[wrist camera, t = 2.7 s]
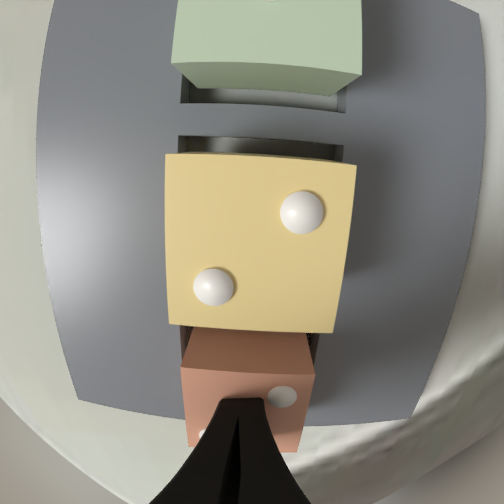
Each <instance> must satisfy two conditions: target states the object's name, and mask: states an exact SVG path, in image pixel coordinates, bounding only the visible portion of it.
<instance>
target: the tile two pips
mask: <svg viewBox="0 0 504 504" xmlns="http://www.w3.org/2000/svg"><path fill="white" fill-rule="evenodd" d="M356 168H357V165H352V164H347V163H342V162H337V161H332V160H326V159H316V158H306V157H294V156H281V155H267V154H250V153H228V152H182V153H169V154H165V256H166V281H167V300H168V316H169V324H175V325H185V326H197V327H209V328H222V329H237V330H254V331H274V332H302V333H333V328H334V323H335V318H336V313H337V307H338V302H339V296H340V291H341V285H342V279H343V272H344V266H345V260H346V253H347V246H348V239H349V231H350V224H351V216H352V207H353V198H354V189H355V179H356Z"/></svg>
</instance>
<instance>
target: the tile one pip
mask: <svg viewBox="0 0 504 504" xmlns="http://www.w3.org/2000/svg"><path fill="white" fill-rule="evenodd" d="M171 64H172V65H174V66H175V67H176V68H177V69H178V70H179V71H180V72H181V73H182V74H183V75H184V76H185V77H186V78H187V79H189V80H190V81H191V82H192V83H193V84H194V85H195V86H196V87H197V88H231V89H257V90H273V91H286V92H297V93H307V94H315V95H324V96H331V95H333V94H334V93H336V92H337V91H339V90H340V89H342V88H343V87H345V86H346V85H348V84H349V83H351V82H352V81H354V80H355V79H357V78H358V77H360V76H361V75H362V10H361V0H178V5H177V13H176V20H175V29H174V37H173V47H172V57H171Z"/></svg>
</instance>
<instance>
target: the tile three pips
mask: <svg viewBox="0 0 504 504" xmlns="http://www.w3.org/2000/svg"><path fill="white" fill-rule="evenodd" d="M180 370H181V381H182V392H183V402H184V411H185V420H186V428H187V436H188V444H189V447H196V445H197V443H198V442H199V440H200V438H201V437H202V435H203V433H204V432H205V430H206V428H207V426H208V424H209V422H210V420H211V418H212V416H213V414H214V412H215V410H216V408H217V405H218V403H219V401H220V400H221V399H233V398H258V397H261V398H262V399H264V405H265V412H266V416H267V420H268V423H269V426H270V430H271V432H272V435H273V437H274V440H275V442H276V444H277V447H278V449H279V451H280V452H297V449H298V446H299V442H300V438H301V434H302V430H303V426H304V422H305V418H306V414H307V410H308V405H309V401H310V397H311V392H312V388H313V383H314V379H315V371H314V366H313V362H312V358H311V353H310V349H309V345H308V340H307V336H306V333H302V332H274V331H254V330H237V329H222V328H209V327H197V326H194V327H193V330H192V333H191V336H190V339H189V342H188V345H187V348H186V351H185V354H184V357H183V360H182V363H181V366H180Z"/></svg>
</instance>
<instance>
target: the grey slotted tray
mask: <svg viewBox="0 0 504 504" xmlns="http://www.w3.org/2000/svg"><path fill="white" fill-rule="evenodd" d="M177 5H178V0H54V4H53V8H52V13H51V17H50V22H49V27H48V32H47V37H46V43H45V49H44V55H43V62H42V69H41V77H40V86H39V97H38V110H37V131H36V178H37V199H38V213H39V224H40V233H41V242H42V250H43V257H44V264H45V270H46V276H47V282H48V287H49V293H50V298H51V303H52V307H53V312H54V317H55V321H56V325H57V329H58V333H59V337H60V341H61V345H62V348H63V352H64V356H65V359H66V362H67V366H68V369H69V372H70V375H71V379H72V382H73V385H74V388H75V391H76V394H77V396H78V399H79V400H83V401H87V402H91V403H95V404H99V405H104V406H108V407H113V408H118V409H122V410H127V411H133V412H138V413H144V414H149V415H156V416H162V417H169V418H176V419H183V420H185V411H184V402H183V392H182V381H181V370H180V366H181V363H182V360H183V357H184V354H185V351H186V348H187V345H188V342H187V326H185V325H175V324H169V316H168V300H167V281H166V256H165V154H169V153H182V152H186V140H187V137H233V138H254V139H271V140H285V141H297V142H307V143H317V144H327V145H335V151H334V161H337V162H342V163H347V164H352V165H357V168H356V179H355V189H354V198H353V207H352V216H351V224H350V231H349V239H348V246H347V253H346V260H345V266H344V272H343V279H342V285H341V291H340V296H339V302H338V307H337V313H336V318H335V323H334V328H333V333H312V338H311V344H310V353H311V358H312V362H313V366H314V371H315V379H314V383H313V388H312V392H311V397H310V401H309V405H308V410H307V414H306V418H305V422H304V426H330V425H348V424H361V423H373V422H382V421H391V420H399V419H407V418H410V417H411V415H412V413H413V411H414V409H415V407H416V405H417V403H418V401H419V398H420V396H421V394H422V392H423V390H424V387H425V385H426V383H427V380H428V378H429V376H430V373H431V371H432V368H433V366H434V363H435V361H436V358H437V356H438V353H439V350H440V348H441V345H442V342H443V339H444V337H445V334H446V331H447V328H448V325H449V322H450V319H451V316H452V313H453V309H454V306H455V303H456V299H457V296H458V293H459V289H460V285H461V282H462V278H463V274H464V270H465V266H466V262H467V257H468V253H469V249H470V244H471V239H472V234H473V229H474V223H475V218H476V212H477V205H478V199H479V191H480V184H481V175H482V165H483V153H484V138H485V70H484V55H483V44H482V35H481V27H480V20H479V14H478V13H476V12H474V11H472V10H470V9H468V8H466V7H463V6H461V5H459V4H457V3H454V2H452V1H449V0H361V10H362V75H361V76H360V77H358V78H357V79H355V80H354V81H352V82H351V83H349V84H348V85H346V86H345V87H343V88H342V89H340V90H339V91H338V103H337V112H330V111H322V110H314V109H304V108H294V107H282V106H269V105H251V104H222V103H189V88H190V80H189V79H187V78H186V77H185V76H184V75H183V74H182V73H181V72H180V71H179V70H178V69H177V68H176V67H175V66H174V65H172V64H171V57H172V47H173V37H174V29H175V20H176V13H177Z"/></svg>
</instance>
